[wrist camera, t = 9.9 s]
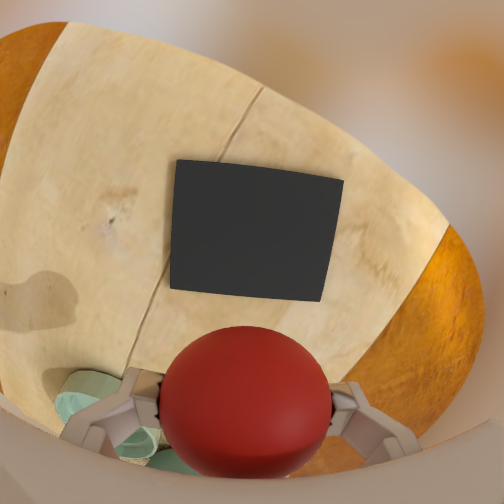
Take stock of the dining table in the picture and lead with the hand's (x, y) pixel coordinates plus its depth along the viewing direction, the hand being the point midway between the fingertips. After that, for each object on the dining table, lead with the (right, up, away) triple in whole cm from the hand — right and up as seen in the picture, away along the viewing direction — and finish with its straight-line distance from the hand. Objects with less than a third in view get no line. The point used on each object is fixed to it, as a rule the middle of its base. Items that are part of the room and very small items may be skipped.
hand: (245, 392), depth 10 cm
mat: (0, +7, +17) cm, 19 cm away
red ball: (0, +1, +2) cm, 2 cm away
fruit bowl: (-22, -19, +24) cm, 38 cm away
